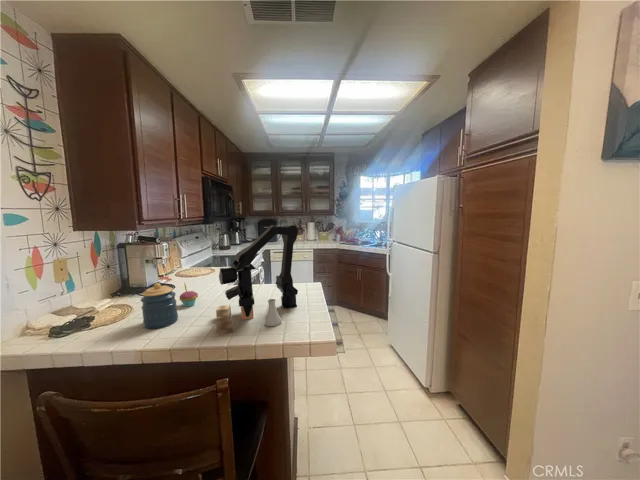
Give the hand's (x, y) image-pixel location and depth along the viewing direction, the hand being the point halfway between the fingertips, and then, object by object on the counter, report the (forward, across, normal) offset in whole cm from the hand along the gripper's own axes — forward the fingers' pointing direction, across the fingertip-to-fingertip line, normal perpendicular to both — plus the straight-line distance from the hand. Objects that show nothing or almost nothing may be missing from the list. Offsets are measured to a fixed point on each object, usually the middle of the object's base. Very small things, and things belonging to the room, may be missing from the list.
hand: (247, 314), depth 119 cm
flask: (+1, +11, +10) cm, 15 cm away
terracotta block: (+1, 0, 0) cm, 1 cm away
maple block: (+1, -2, -10) cm, 10 cm away
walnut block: (+1, +12, -9) cm, 15 cm away
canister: (+1, -7, -36) cm, 37 cm away
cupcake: (+1, -26, -28) cm, 38 cm away
